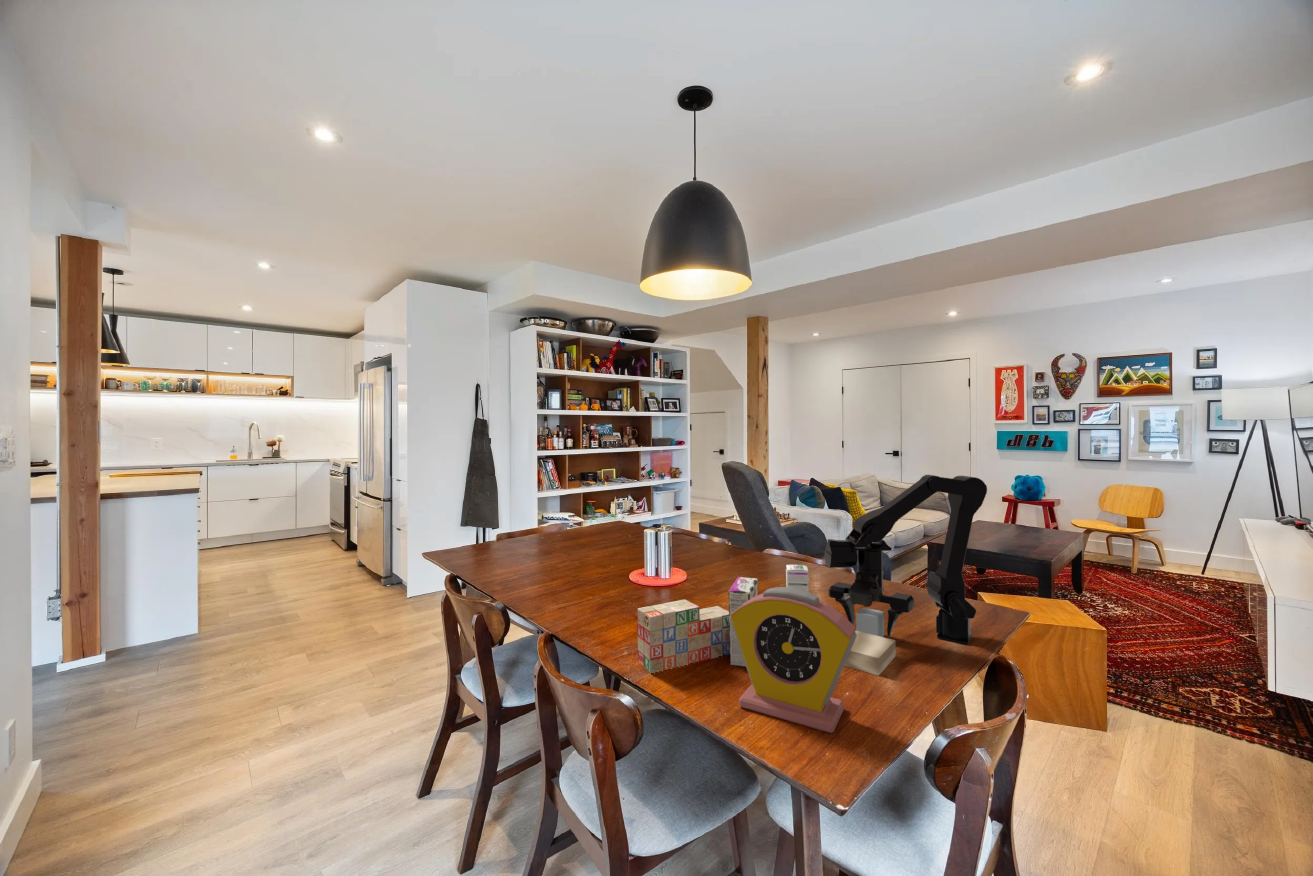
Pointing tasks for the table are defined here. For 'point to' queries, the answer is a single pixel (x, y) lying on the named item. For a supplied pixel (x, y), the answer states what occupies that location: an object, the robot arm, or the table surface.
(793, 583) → the syrup box
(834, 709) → the yellow mantel clock
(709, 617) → the stack of blocks
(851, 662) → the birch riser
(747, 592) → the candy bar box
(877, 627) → the slate block
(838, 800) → the table surface
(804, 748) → the table surface
